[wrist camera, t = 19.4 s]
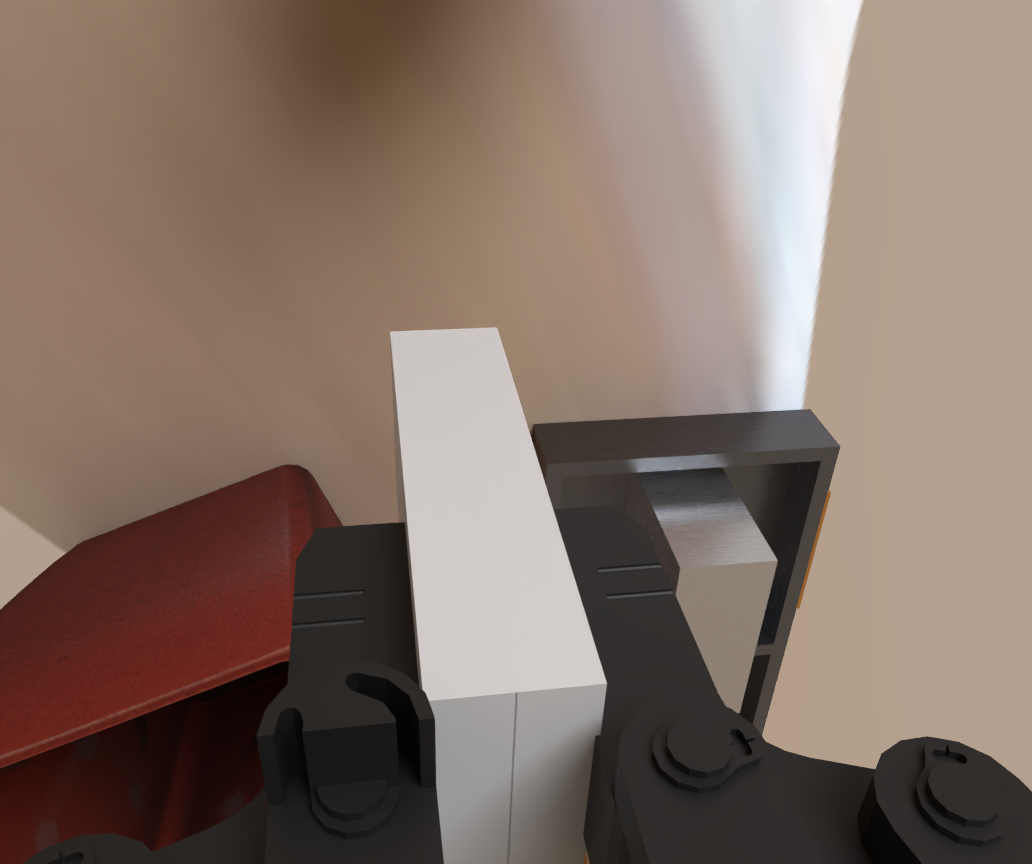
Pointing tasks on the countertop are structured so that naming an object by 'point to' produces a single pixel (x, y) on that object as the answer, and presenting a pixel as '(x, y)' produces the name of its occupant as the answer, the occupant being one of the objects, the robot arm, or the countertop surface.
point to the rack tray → (752, 471)
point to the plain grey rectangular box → (709, 565)
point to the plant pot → (151, 668)
